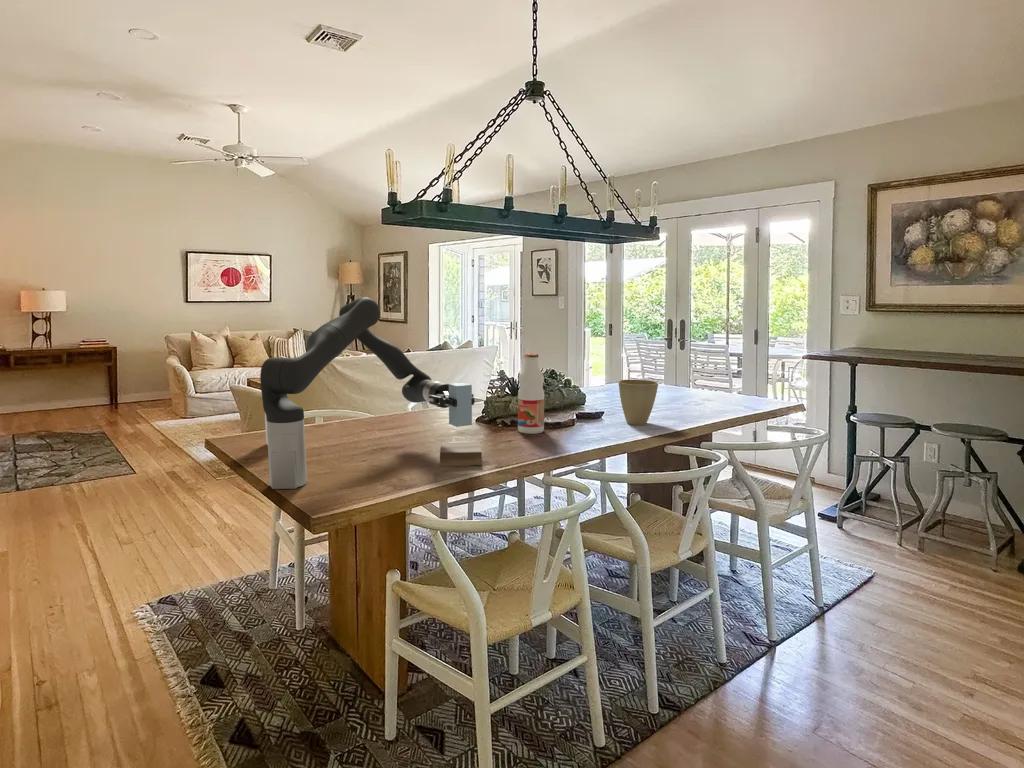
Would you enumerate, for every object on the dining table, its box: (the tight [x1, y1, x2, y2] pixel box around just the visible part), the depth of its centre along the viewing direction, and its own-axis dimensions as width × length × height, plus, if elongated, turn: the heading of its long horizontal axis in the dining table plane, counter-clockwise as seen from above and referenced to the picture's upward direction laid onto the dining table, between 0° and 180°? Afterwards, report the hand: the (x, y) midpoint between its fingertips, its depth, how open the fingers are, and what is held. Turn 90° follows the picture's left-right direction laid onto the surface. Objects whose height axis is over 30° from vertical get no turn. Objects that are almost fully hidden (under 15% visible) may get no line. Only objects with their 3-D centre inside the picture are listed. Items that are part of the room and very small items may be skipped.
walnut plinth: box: [439, 442, 483, 467], centre depth 197 cm, size 12×12×4 cm
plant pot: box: [618, 379, 659, 426], centre depth 252 cm, size 15×15×16 cm
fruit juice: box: [517, 352, 545, 435], centre depth 236 cm, size 9×9×28 cm
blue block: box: [448, 382, 473, 428], centre depth 195 cm, size 5×5×12 cm
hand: (464, 402), depth 193 cm, fingers closed on blue block, 5 cm apart
